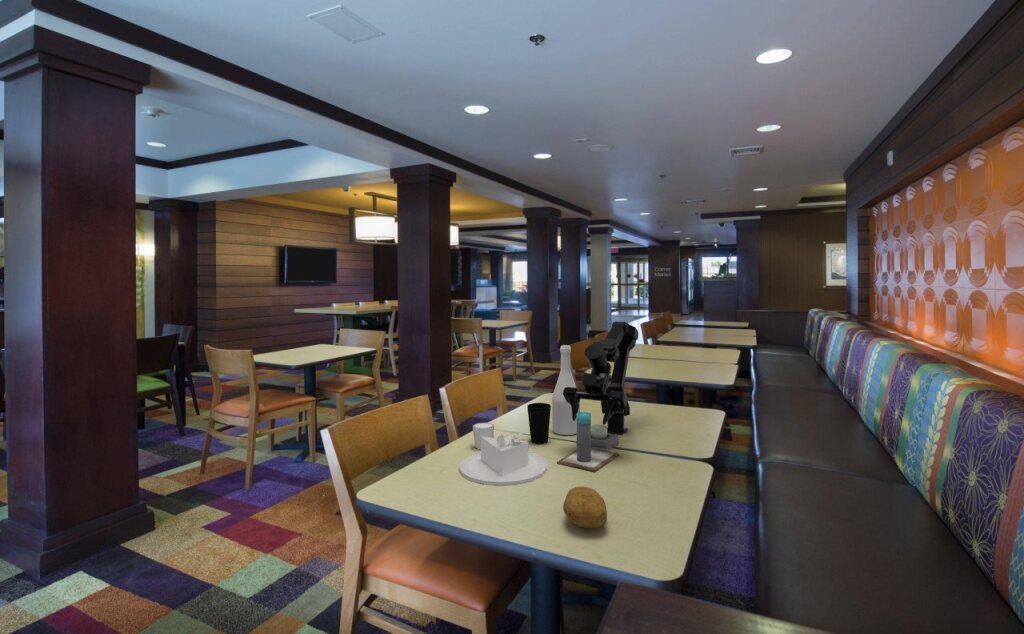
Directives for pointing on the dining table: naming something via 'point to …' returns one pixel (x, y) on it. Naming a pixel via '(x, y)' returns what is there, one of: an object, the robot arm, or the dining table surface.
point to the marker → (584, 437)
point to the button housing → (605, 442)
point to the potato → (585, 507)
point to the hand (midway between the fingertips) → (588, 422)
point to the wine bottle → (560, 407)
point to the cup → (539, 422)
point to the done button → (599, 432)
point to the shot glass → (482, 432)
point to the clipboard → (597, 459)
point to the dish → (503, 462)
